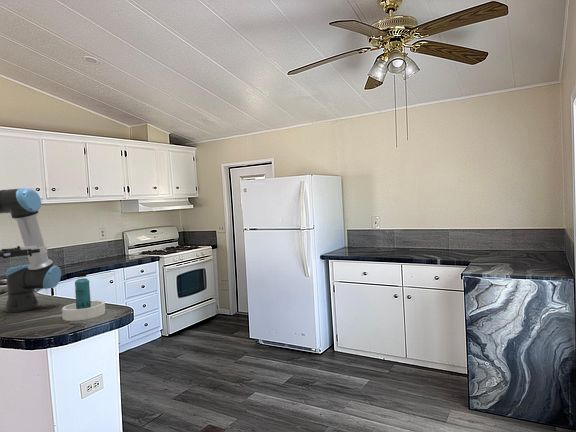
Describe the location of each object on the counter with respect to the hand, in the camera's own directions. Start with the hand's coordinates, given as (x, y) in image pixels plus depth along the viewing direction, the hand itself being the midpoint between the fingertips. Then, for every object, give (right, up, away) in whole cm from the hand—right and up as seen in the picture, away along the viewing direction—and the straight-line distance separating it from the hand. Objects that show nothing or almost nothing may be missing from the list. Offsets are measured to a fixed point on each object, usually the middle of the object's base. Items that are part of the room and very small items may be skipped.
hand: (41, 248), depth 193 cm
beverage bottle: (+17, -32, +6) cm, 36 cm away
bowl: (+17, -32, +6) cm, 37 cm away
